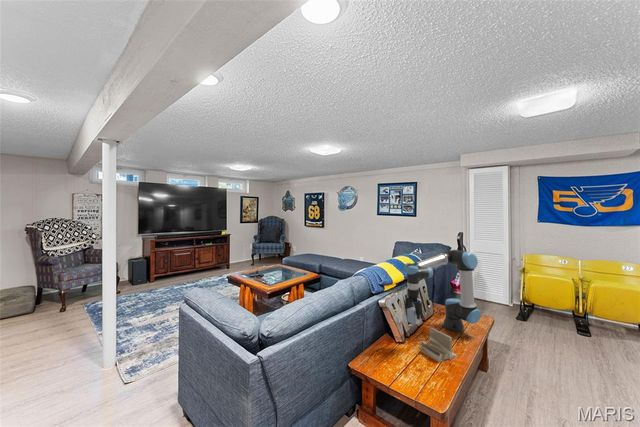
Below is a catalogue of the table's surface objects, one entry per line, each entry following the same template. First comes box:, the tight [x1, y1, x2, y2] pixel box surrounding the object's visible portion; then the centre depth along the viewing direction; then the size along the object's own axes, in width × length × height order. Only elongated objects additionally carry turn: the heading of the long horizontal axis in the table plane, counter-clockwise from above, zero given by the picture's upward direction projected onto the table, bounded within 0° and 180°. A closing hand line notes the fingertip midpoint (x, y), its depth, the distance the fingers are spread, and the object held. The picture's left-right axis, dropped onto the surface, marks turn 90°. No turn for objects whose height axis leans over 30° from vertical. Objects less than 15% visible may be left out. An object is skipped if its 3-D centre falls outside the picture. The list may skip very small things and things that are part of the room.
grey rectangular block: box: [406, 306, 421, 326], centre depth 178 cm, size 6×6×9 cm
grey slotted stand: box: [421, 327, 458, 363], centre depth 171 cm, size 16×16×14 cm
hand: (413, 321), depth 178 cm, fingers closed on grey rectangular block, 6 cm apart
